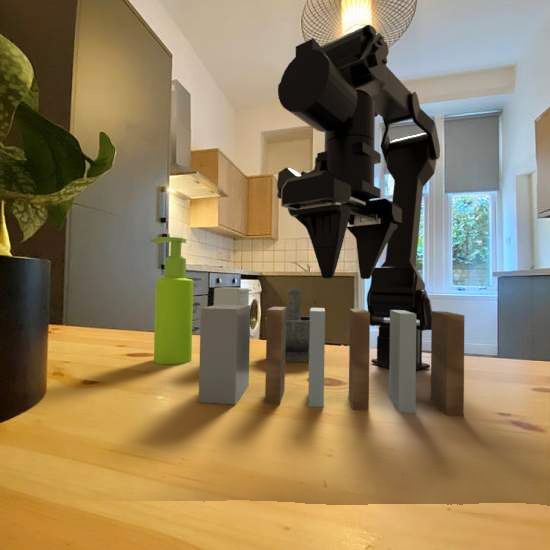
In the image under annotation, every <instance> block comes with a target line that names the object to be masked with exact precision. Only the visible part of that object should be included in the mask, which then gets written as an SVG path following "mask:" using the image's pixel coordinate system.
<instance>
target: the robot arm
mask: <svg viewBox="0 0 550 550" xmlns="http://www.w3.org/2000/svg"><path fill="white" fill-rule="evenodd" d="M388 55H389V45H388V43H387V42H386V41H385V37H384V36H383V35H382V34H381V33H380V32H377V30H376V28H375V27H374V26H372V25H370V24H367V25H364V26H362V27H359V28H357V29H355V30H352V31H351V32H349V33H346V34H345V35H342V36H340V37H338V38H336V39H333V40H330V41H329V42H327V43H324V44H323V45H320V44H319V43H318V42H317V40H315V38H311V39H308V40H306V41H304V42H302V43H300V44H298V45H296V46H295V57H293V59H292V60H291V61H290V63H288V64H287V66H286V68H285V69H284V71H283V74H282V75H281V80H280V82H279V83H278V85H277V94H278V95H277V96H278V99H279V103H280V105H281V106H282V108H284V109H285V110H286V111H288V112H290V113H291V114H292V115H294V116H296V118H298V119H299V120H301V121H302V122H304V123H305V124H307V125H308V126H310V127H312V129H315V131H318V132H321V133H324V151H322V152H317V153H316V157H315V158H314V168H313V169H312V170H310V171H309V172H308V171H307V172H306V171H301V172H300V174H299V173H298V172H297V171H296V170H294V169H292V168H289V167H284V168H283V169H282V170H281V171H279V172H278V174H277V184H276V185H277V186H276V187H277V194H276V195H277V199H280V201H281V202H280V205H281V207H282V208H284V209H285V208H286V209H287V211H288V213H289V215H290V217H293V218H295V219H296V220H297V221H298V222H300V224H302V225H303V226H304V228H305V229H306V231H307V233H308V237H309V239H310V241H311V244H312V248H313V251H314V255H315V259H316V260H317V265H318V268H319V271H320V274H321V277H322V278H323V279H333V278H334V276H335V272H336V269H337V266H338V262H339V260H340V254H341V251H342V248H343V243H344V240H345V236H346V231H347V230H348V231H349V232H350V234H352V236H353V237H354V238H355V242H356V251H357V260H358V261H357V263H358V268H359V269H358V271H359V276H360V279H362V280H368V279H371V280H370V286H369V289H368V291H367V294H366V304H367V311H368V312H370V327H378V335H377V337H376V358H374V359H371V363H373V364H376V365H379V366H381V367H385V368H388V369H389V365H390V310H405V311H408V312H411V313H415V314H416V321H419V322H416V370H423V369H431V364H429V363H425V362H423V332H424V331H431V325H432V311H433V309H432V304H431V303H432V302H431V299H429V297H428V292H427V290H426V284H425V282H424V280H423V277H422V276H421V274H420V273H419V270H418V269H417V267H416V266H417V255H418V247H419V246H418V244H419V234H420V225H421V215H422V214H421V213H422V203H423V191H424V186H426V184H427V183H428V182H429V180H430V179H431V178H432V177H433V176H434V175H435V171H436V165H437V160H439V159H440V157H441V147H440V146H441V145H440V140H439V135H438V131H437V129H438V128H437V125H436V122H435V120H433V119H432V118H431V117H430V116H429V115H428V114H427V113H426V112H425V111H424V110H423V109H422V108H421V107H420V106H421V105H420V101H419V97H418V94H417V91H410V90H409V89H408V88H407V86H406V85H404V84H403V83H402V81H401V80H400V79H399V78H398V77H397V76H396V75H395V74H394V73H393V71H392V70H391V69H390V68H389V67H388V66H387V64H388ZM378 116H380V117H382V122H383V125H384V132H383V135H382V139H381V142H380V149H381V152H382V154H381V153H380V152H378V151H376V149H375V144H376V143H375V136H376V135H375V132H376V131H375V130H376V128H375V127H376V126H375V122H376V119H375V118H377V117H378ZM410 120H412V122H413V123H414V125H416V126H417V127H418V128H419V129H421V130H422V131H423V133H418V134H416V135H412V136H406V137H403V138H399V139H394V140H392V141H391V140H390V136H389V133H390V129H391V125H393V124H397V123H401V122H406V121H410ZM381 155H382V156H383V159H384V161H385V164H386V169H387V170H388V172H389V174H390V176H391V177H392V179H393V183H394V185H393V193H392V200H389V199H387V198H381V194H382V193H381V191H382V190H381V188H379V187H377V186H375V165H377V164H381V163H382V160H381V159H382V156H381ZM348 225H349V226H348ZM385 248H386V252H385V260H384V262H383V263H382V264H381V266H377V264H378V262H379V260H380V259H381V256H382V254H383V252H384V250H385ZM376 266H377V267H376ZM388 318H389V320H388Z"/></svg>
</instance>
